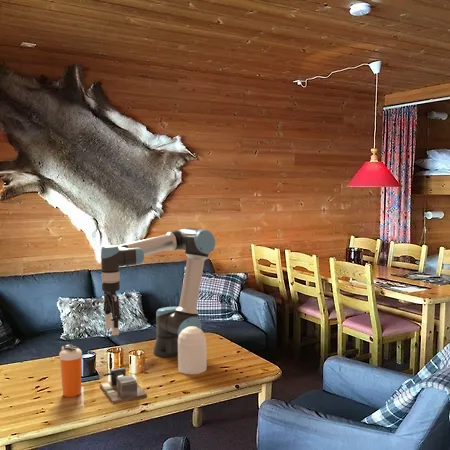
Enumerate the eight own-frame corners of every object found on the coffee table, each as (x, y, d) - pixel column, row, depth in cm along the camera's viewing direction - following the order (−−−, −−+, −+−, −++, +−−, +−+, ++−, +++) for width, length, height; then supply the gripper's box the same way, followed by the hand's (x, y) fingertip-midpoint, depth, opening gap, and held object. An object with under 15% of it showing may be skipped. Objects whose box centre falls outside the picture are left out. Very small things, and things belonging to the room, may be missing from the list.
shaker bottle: (70, 400, 202) (69, 351, 201) (55, 395, 207) (54, 347, 205) (87, 392, 210) (86, 345, 208) (73, 387, 215) (71, 341, 213)
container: (172, 368, 236) (171, 326, 234) (194, 361, 245) (194, 321, 243) (189, 376, 226) (188, 332, 224) (212, 369, 235) (212, 327, 233)
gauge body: (99, 386, 216) (99, 369, 215) (131, 379, 223) (131, 364, 222) (112, 404, 198) (112, 386, 198) (146, 396, 205) (146, 379, 204)
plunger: (103, 385, 213) (102, 371, 213) (124, 380, 218) (124, 367, 217) (109, 393, 205) (108, 378, 205) (131, 388, 210) (131, 374, 209)
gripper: (95, 277, 227) (96, 326, 229) (109, 286, 207) (110, 339, 209) (111, 276, 231) (113, 324, 233) (127, 285, 211) (128, 337, 213)
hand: (112, 331), depth 221 cm, fingers open, 10 cm apart
